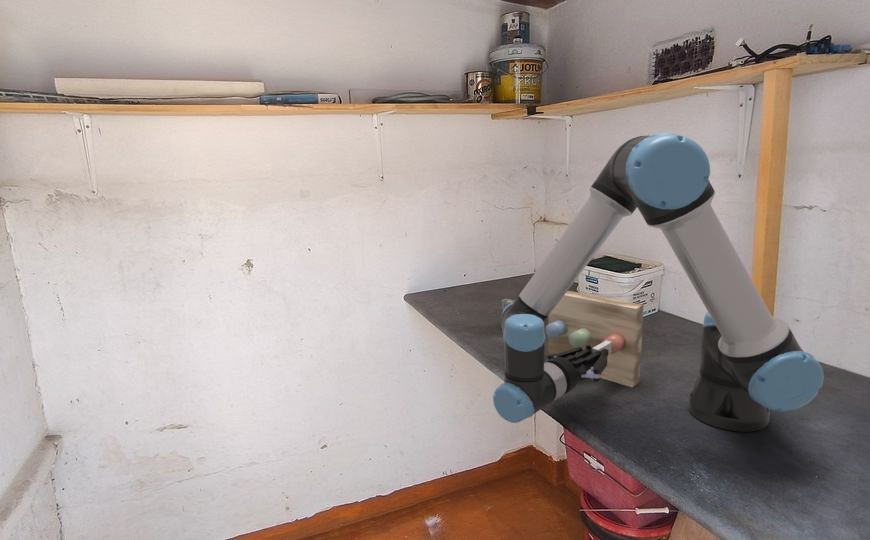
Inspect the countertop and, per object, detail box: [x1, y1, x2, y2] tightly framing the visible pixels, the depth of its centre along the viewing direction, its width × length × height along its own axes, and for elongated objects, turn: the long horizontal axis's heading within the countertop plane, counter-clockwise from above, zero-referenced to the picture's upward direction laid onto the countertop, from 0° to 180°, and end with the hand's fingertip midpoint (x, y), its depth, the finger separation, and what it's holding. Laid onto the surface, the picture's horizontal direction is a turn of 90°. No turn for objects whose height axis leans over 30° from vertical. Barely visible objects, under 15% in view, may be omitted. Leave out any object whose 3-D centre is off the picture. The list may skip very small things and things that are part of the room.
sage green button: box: [569, 328, 592, 348], centre depth 125 cm, size 4×4×4 cm
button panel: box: [547, 290, 644, 388], centre depth 129 cm, size 4×24×20 cm, turn 43°
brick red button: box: [603, 333, 626, 354], centre depth 121 cm, size 4×4×4 cm
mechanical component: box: [500, 298, 516, 311], centre depth 162 cm, size 3×10×10 cm, turn 41°
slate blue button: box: [544, 320, 567, 339], centre depth 132 cm, size 4×4×4 cm
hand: (608, 346), depth 119 cm, fingers closed
